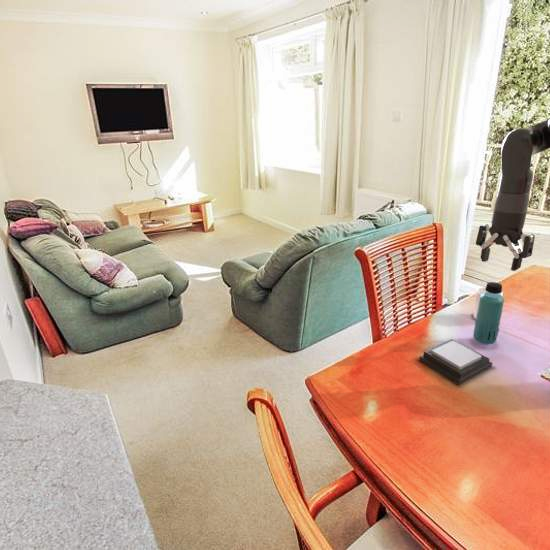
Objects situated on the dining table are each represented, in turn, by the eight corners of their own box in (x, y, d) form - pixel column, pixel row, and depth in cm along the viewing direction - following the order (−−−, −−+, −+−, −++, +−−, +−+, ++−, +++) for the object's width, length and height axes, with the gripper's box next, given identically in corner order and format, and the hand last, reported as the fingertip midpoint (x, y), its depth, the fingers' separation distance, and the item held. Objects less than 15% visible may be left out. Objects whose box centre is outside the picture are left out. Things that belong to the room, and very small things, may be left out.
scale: (451, 345, 115) (452, 336, 114) (491, 367, 104) (493, 358, 103) (419, 360, 109) (420, 351, 108) (458, 385, 98) (460, 376, 97)
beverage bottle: (485, 351, 111) (497, 290, 103) (466, 340, 117) (476, 282, 109) (500, 345, 114) (513, 285, 106) (481, 335, 119) (492, 277, 111)
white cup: (467, 318, 129) (472, 292, 125) (477, 310, 134) (481, 284, 130) (492, 326, 123) (498, 299, 119) (501, 317, 128) (506, 291, 124)
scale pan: (452, 344, 112) (453, 340, 111) (481, 360, 104) (482, 355, 103) (431, 354, 108) (431, 350, 107) (459, 371, 100) (460, 366, 100)
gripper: (547, 211, 94) (533, 270, 101) (493, 202, 106) (483, 255, 112) (530, 216, 91) (516, 276, 98) (476, 206, 103) (467, 260, 109)
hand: (498, 265), depth 105 cm, fingers open, 8 cm apart
